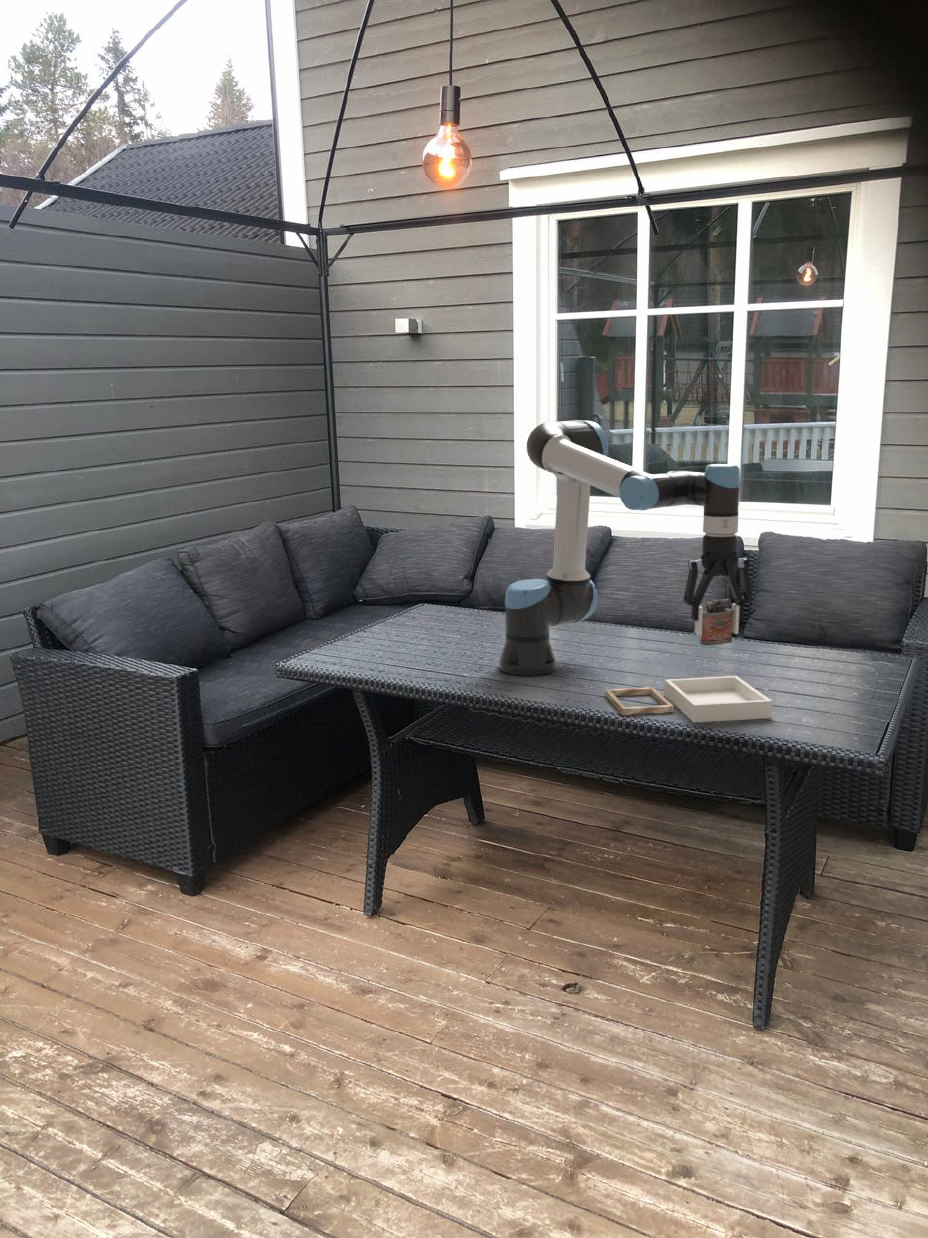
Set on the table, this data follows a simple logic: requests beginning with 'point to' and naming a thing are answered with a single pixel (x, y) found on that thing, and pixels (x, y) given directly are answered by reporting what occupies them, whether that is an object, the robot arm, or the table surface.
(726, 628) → the lighter
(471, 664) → the table surface
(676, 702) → the tray
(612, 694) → the holder
